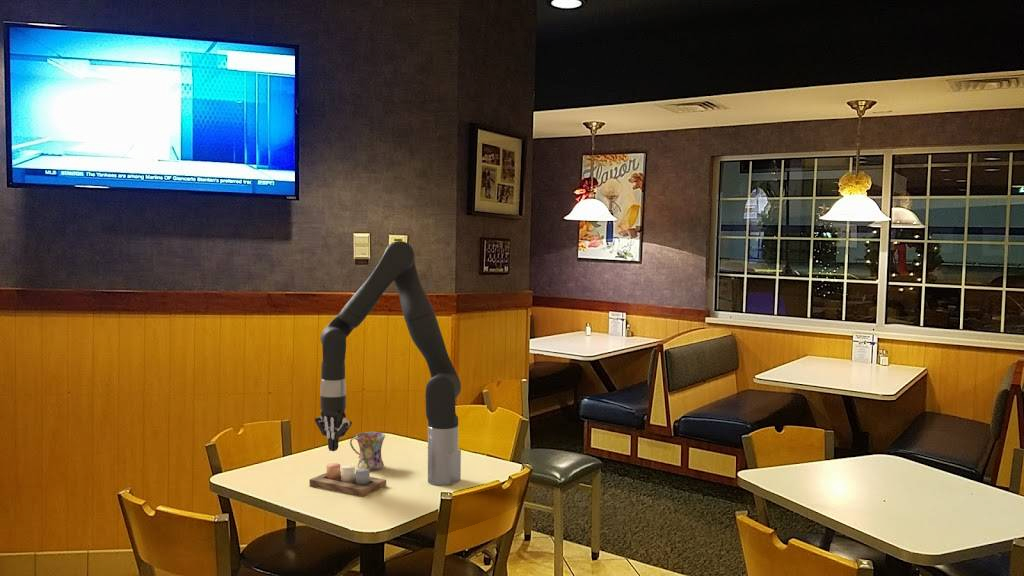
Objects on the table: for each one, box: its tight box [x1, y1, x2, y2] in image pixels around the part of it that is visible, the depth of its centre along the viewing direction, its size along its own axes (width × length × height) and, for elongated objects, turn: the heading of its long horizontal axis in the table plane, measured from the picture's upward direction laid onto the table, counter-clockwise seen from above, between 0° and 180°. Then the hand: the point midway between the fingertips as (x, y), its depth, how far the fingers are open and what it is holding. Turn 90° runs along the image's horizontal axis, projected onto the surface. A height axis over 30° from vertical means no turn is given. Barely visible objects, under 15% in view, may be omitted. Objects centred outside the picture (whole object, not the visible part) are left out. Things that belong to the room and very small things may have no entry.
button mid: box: [340, 465, 356, 483], centre depth 237 cm, size 4×4×4 cm
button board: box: [308, 470, 387, 498], centre depth 237 cm, size 20×11×2 cm, turn 62°
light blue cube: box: [355, 468, 371, 486], centre depth 234 cm, size 4×4×4 cm
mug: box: [349, 431, 386, 471], centre depth 256 cm, size 12×9×11 cm
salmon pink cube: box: [326, 462, 341, 480], centre depth 239 cm, size 4×4×4 cm
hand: (333, 450), depth 239 cm, fingers closed
